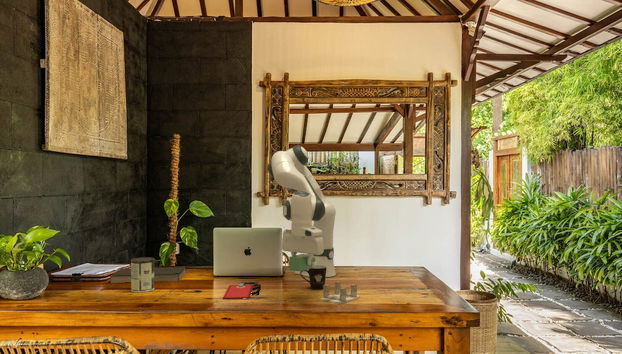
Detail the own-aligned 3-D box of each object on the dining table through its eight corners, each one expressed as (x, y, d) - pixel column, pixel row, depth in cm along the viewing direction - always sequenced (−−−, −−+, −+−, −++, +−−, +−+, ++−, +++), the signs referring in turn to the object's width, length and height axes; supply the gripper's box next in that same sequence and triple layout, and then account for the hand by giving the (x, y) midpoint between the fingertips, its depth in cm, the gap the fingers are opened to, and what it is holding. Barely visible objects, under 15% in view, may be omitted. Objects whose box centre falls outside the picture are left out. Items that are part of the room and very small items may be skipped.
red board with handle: (262, 283, 232) (231, 284, 231) (262, 277, 232) (231, 278, 231) (258, 300, 202) (222, 301, 201) (258, 293, 202) (222, 294, 201)
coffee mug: (329, 286, 224) (329, 265, 224) (323, 291, 216) (323, 268, 216) (305, 285, 228) (305, 264, 228) (299, 289, 220) (299, 267, 220)
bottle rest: (320, 300, 200) (320, 286, 200) (339, 293, 211) (339, 280, 211) (340, 304, 193) (340, 289, 193) (359, 297, 204) (359, 283, 204)
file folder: (109, 275, 232) (122, 267, 256) (109, 284, 232) (122, 275, 256) (179, 274, 236) (186, 265, 260) (179, 282, 236) (186, 273, 260)
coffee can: (142, 286, 225) (142, 256, 225) (159, 288, 221) (159, 258, 221) (125, 291, 216) (125, 259, 216) (142, 293, 211) (142, 261, 211)
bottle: (289, 270, 197) (289, 256, 197) (310, 264, 208) (310, 252, 208) (299, 271, 194) (298, 258, 194) (319, 266, 205) (319, 253, 205)
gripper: (278, 229, 204) (278, 262, 204) (316, 232, 191) (316, 267, 191) (287, 228, 209) (288, 259, 209) (325, 231, 196) (326, 265, 196)
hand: (302, 263), depth 200 cm, fingers closed on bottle, 5 cm apart
